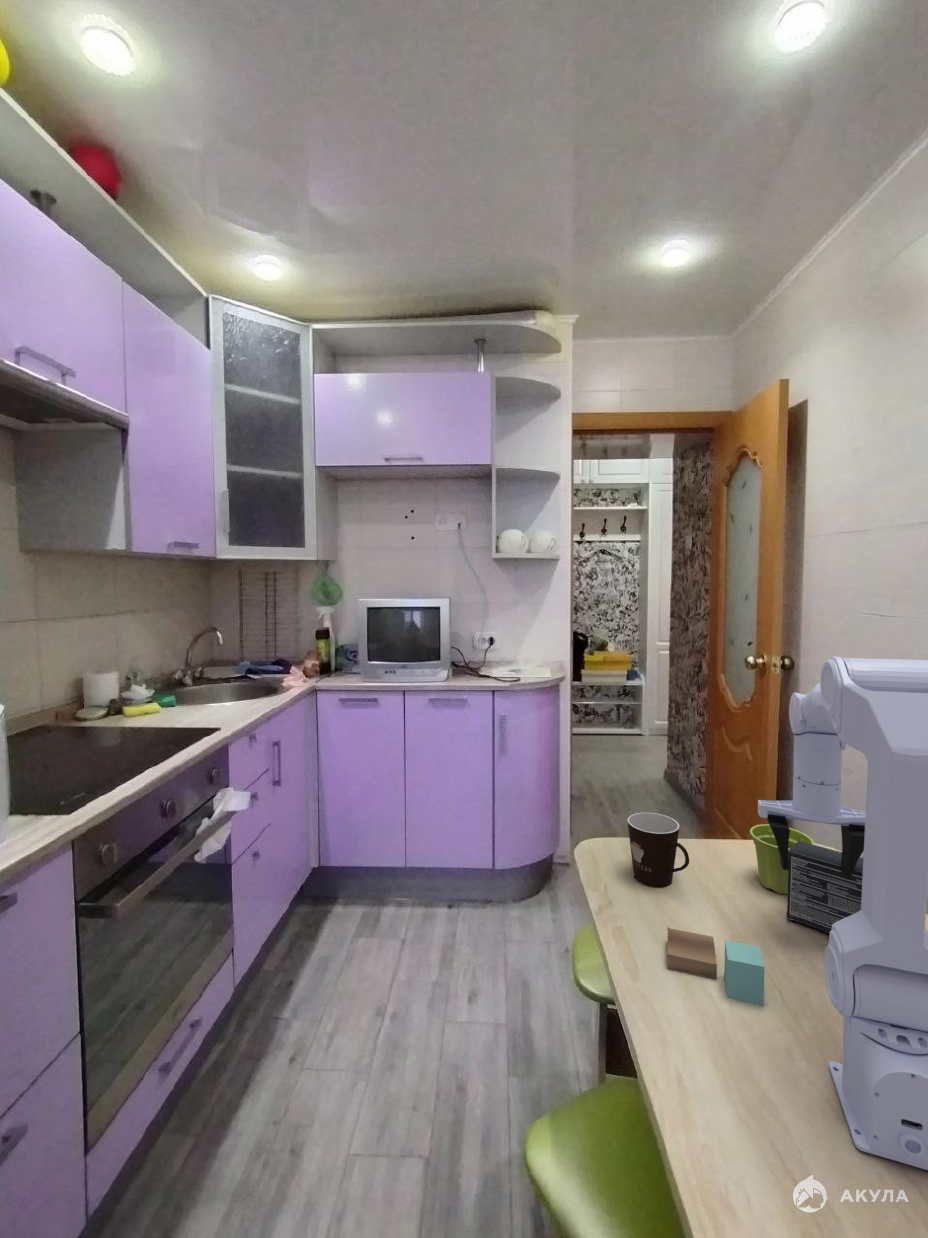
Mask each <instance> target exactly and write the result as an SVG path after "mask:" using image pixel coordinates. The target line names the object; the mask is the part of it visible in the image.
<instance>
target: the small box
mask: <svg viewBox="0 0 928 1238" xmlns="http://www.w3.org/2000/svg"><path fill="white" fill-rule="evenodd" d="M788 856H789V869H788V894H787V896H786V897H787V898H786V899H787V900H786V903H787V906H786V912H785V913H786V914H785V916H786V919H789V920H792V921H793V922H798V923H800V924H802V925H806V926H808V927H811V928H814V929H816V930H820V931H822V932H824V933H828V934H830V931H831V930H832V924H834V923H835V922H837V921H839V920H841V919H844V918H846V917H848V916H850V915H853V914H855V913H857V912H859V911H860V910H861V900H862V879H863V858H864V857H861V856H860V857H859V859H858V861H857V863H856V866H855V868H854V871H853V874H852V878H851V880H850V879H845V877H844V875H843V874H842V872H841V857H842V851H838V850H834V849H831V848H828V847H827V848H826V847H824V846H820V845H816V844H814V845H813V844H809V843H805V842H802V841H798V842H797V843H796V844H795V845H794V846H793V847H792V848H791V849H790V850H789V851H788Z"/></svg>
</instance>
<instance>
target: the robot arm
mask: <svg viewBox="0 0 928 1238" xmlns="http://www.w3.org/2000/svg"><path fill="white" fill-rule="evenodd" d="M819 680H820V682H819V683H817V684H816V685H815V686H814V687H813V688H812V689H811V690H810V691H809V692H808V693H807V694H805V693H799V692H792V695H791V696H790V700H789V706H788V719H789V724H790V728H791V732H792V733H793V774H792V775H793V777H792V778H793V779H792V780H793V782H792V787H793V788H792V800H764V799H758V800H757V813H758V816H759V818H763V819H766V820H767V822H768V823H767V824H769V825H770V827H771V829H772V831H773V834H774V837H775V840H776V843H777V846H778V850H779V855H780V864H781V866H782V869H783V870H788V869H789V857H788V844H789V835H790V829H789V828H790V827H789V826H788V825H789V822H788V820H792V821H793V820H794V821H800V822H801V821H802V822H803V821H804V822H810V823H811V822H812V823H816V824H817V823H820V824H825V825H826V824H827V825H835V826H840V828H841V829H840V830H841V848H842V849H841V852H842V857H841V872H842V874H843V875H844V877H845V879H850V880H851V878H852V874H853V871H854V868H855V866H856V863H857V861H858V859H859V857H861V856H862V854H863V857H862V858H863V879H862V900H861V910H860V911H859V912H857V913H855V914H853V915H850V916H848V917H846V918H844V919H841V920H839V921H837V922H835V923H834V924H832V930H831V931H830V933H829V936H828V937H829V938H828V943H827V946H826V947H825V950H824V955H823V956H824V958H823V959H824V962H823V963H824V965H823V966H824V967H823V968H824V976H825V984H826V987H827V992H828V997H829V999H830V1002H831V1004H832V1005H833V1007H834V1008H835V1009H836V1010H837V1012H838V1013H839V1014H840V1015H841V1016H843V1027H842V1028H843V1031H842V1032H843V1033H842V1034H843V1035H842V1063H839V1062H836V1061H829V1062H828V1069H829V1072H830V1074H831V1078H832V1080H833V1084H834V1087H835V1089H836V1093H837V1095H838V1099H839V1103H840V1104H841V1107H842V1110H843V1113H844V1117H845V1119H846V1122H847V1125H848V1128H849V1132H850V1135H851V1136H852V1137H851V1138H852V1140H853V1144H854V1146H855V1147H856V1148H857V1149H858V1150H859V1151H861V1152H865V1153H868V1154H871V1155H875V1156H878V1157H882V1158H885V1159H889V1160H892V1161H896V1162H899V1163H902V1164H905V1165H907V1166H908V1165H909V1166H912V1167H915V1168H919V1169H923V1170H926V1171H928V931H927V930H926V921H927V920H926V919H927V904H928V901H927V900H928V659H907V658H906V659H903V658H901V659H900V658H897V659H896V658H865V657H864V658H863V657H862V658H861V657H841V656H835V655H831V656H830V657H829V658H828V659H827V660H825V662H824V663H823V665H822V668H821V672H820V679H819ZM846 746H848V747H851V748H853V749H855V750H857V751H858V752H861V753H863V755H864V757H865V759H866V761H867V775H866V776H867V778H866V798H865V810H858V809H853V808H849V807H844V806H841V805H842V804H841V799H842V798H841V797H842V794H841V793H842V756H843V755H842V754H843V751H845V750H846Z"/></svg>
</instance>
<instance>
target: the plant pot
mask: <svg viewBox="0 0 928 1238" xmlns="http://www.w3.org/2000/svg"><path fill="white" fill-rule="evenodd" d="M789 829H790V835H789V844H788V851H789V850H790V849H791V848H792V847H793V846H794V845H795V844H796V843H797V842H798V841H802V842H805V843H809V844H813V845H815V842H814V839H812V837H810V836H809V835H808V834H805V833H804V832H802V831H800V830H797V829H794V828H791V827H789ZM749 833H750V836H751V837H752V841H753V844H754V846H755V852H756V853H755V854H756V860H757V869H758V870H757V871H758V879H759V883H760V884H761V885H762V886H763V887H765V888H766V889H770V890H772V891H774V892H776V893H778V894H782V895H788V870H783V869H782V866H781V864H780V855H779V850H778V846H777V843H776V840H775V837H774V834H773V831H772V829H771V827H770V825H769V823H767V824H764V823H763V824H756V825H754V826H752V827H751V828H750V830H749ZM788 857H789V856H788Z"/></svg>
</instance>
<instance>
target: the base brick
mask: <svg viewBox="0 0 928 1238" xmlns="http://www.w3.org/2000/svg"><path fill="white" fill-rule="evenodd" d="M717 968H718V964H717V954H716V946H715V940H714V936H713V935H711V936H710V935H706V934H700V933H696V932H689V931H685V930H679V929H675V928H669V927H667V969H668V970H672V971H676V972H681V973H687V974H689V975H691V974H692V975H695V976H700V977H704V978H709V979H714V980H717V977H718V976H717V975H718V974H717V973H718V969H717Z"/></svg>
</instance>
